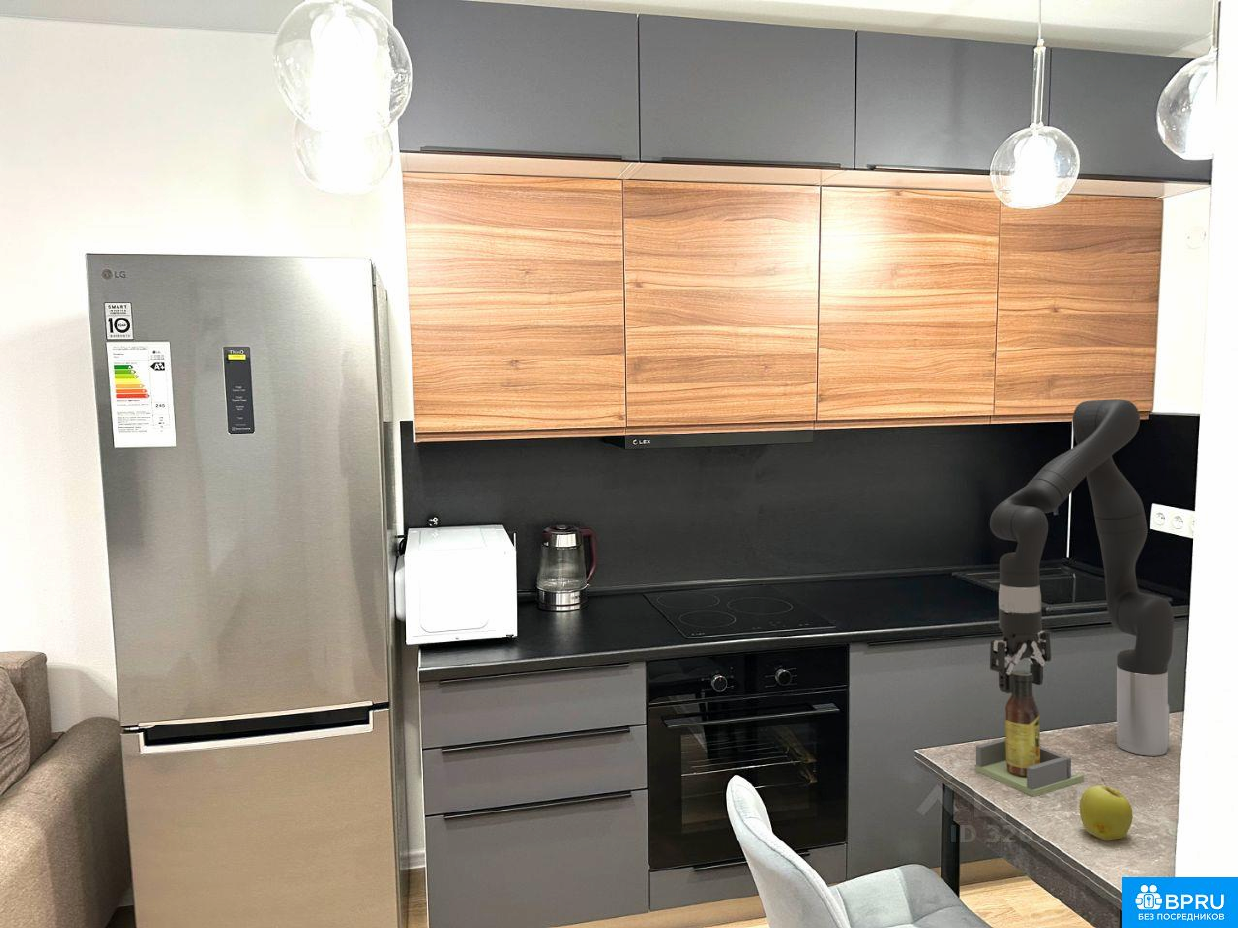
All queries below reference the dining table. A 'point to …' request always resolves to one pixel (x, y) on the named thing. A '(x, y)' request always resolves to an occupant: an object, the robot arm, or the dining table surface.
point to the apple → (1105, 812)
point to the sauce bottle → (1021, 725)
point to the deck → (1039, 777)
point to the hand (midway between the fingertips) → (1021, 687)
